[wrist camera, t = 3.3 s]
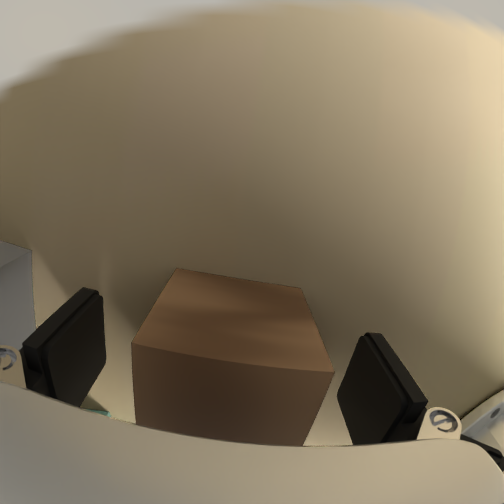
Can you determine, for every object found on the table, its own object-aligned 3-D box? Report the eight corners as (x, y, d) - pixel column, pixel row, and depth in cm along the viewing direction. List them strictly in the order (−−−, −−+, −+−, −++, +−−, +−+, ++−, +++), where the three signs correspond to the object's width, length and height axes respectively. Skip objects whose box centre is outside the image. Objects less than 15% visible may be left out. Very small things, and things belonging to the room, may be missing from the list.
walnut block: (300, 287, 11) (334, 371, 6) (274, 382, 12) (286, 476, 8) (176, 267, 11) (131, 342, 6) (169, 366, 12) (140, 457, 7)
